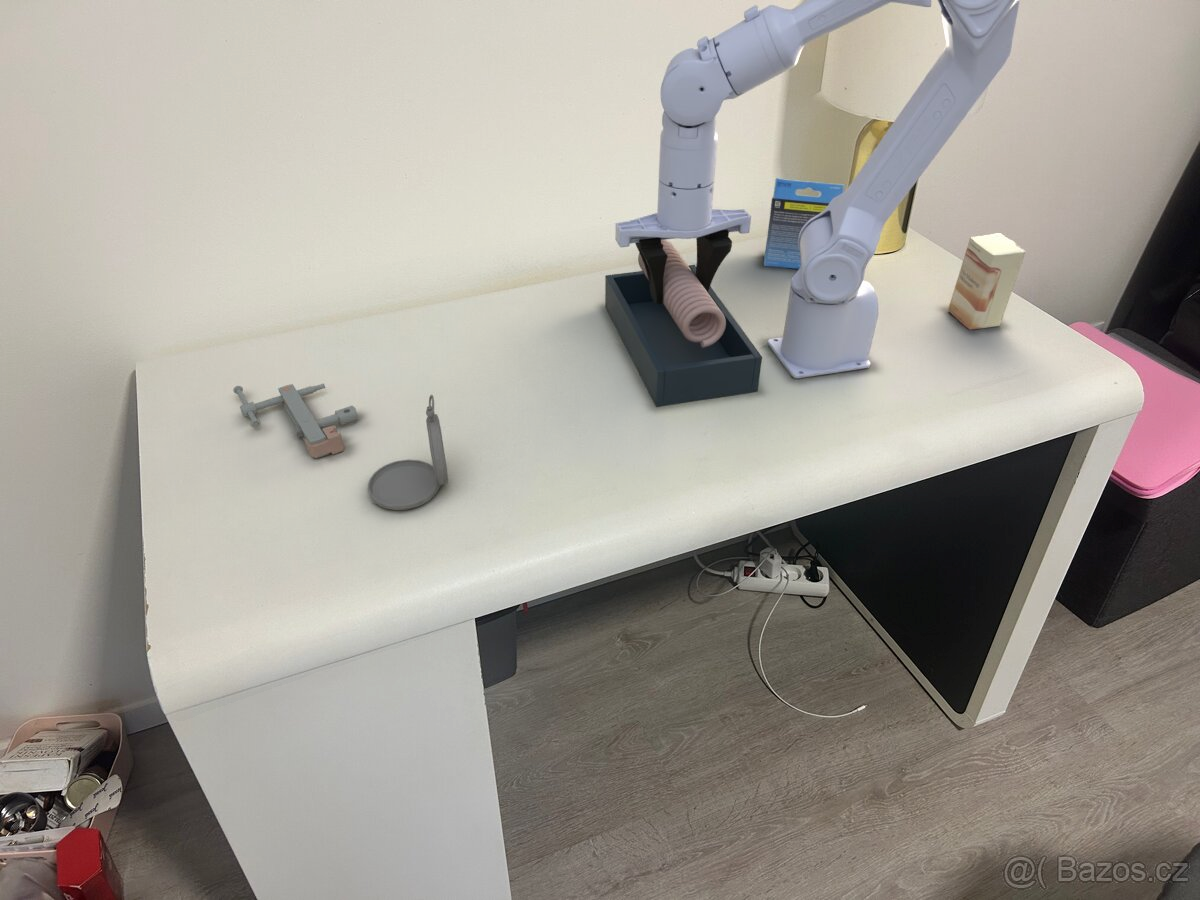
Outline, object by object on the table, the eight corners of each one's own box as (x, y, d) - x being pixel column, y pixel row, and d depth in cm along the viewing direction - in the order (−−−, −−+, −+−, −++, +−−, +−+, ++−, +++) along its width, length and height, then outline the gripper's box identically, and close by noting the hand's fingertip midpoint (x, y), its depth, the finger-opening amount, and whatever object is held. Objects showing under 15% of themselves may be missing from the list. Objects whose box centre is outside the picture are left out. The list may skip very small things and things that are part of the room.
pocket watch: (355, 491, 80) (334, 405, 74) (426, 450, 85) (412, 366, 78) (408, 532, 76) (390, 445, 69) (480, 486, 80) (469, 401, 74)
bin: (692, 296, 109) (694, 264, 106) (757, 391, 92) (762, 356, 90) (605, 307, 107) (605, 275, 104) (656, 407, 90) (657, 371, 87)
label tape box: (829, 260, 117) (845, 173, 109) (828, 274, 114) (845, 184, 106) (765, 254, 118) (776, 167, 110) (762, 267, 115) (774, 179, 107)
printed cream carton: (945, 310, 106) (967, 235, 100) (977, 306, 107) (1001, 231, 100) (969, 331, 102) (993, 254, 96) (1001, 327, 103) (1027, 250, 96)
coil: (731, 309, 87) (676, 235, 101) (689, 310, 86) (639, 236, 100) (723, 348, 90) (670, 271, 104) (682, 350, 89) (634, 272, 102)
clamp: (368, 424, 84) (268, 458, 80) (372, 441, 86) (273, 476, 82) (320, 355, 94) (228, 382, 90) (324, 371, 96) (234, 399, 92)
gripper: (738, 158, 91) (726, 273, 100) (608, 171, 89) (607, 287, 97) (763, 183, 86) (749, 301, 94) (626, 197, 83) (624, 318, 92)
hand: (679, 296), depth 95 cm, fingers closed on coil, 4 cm apart
